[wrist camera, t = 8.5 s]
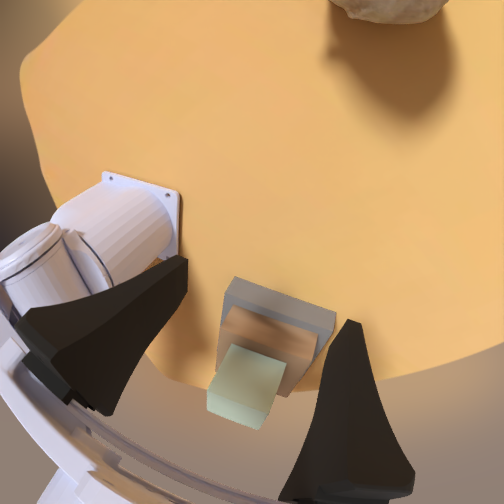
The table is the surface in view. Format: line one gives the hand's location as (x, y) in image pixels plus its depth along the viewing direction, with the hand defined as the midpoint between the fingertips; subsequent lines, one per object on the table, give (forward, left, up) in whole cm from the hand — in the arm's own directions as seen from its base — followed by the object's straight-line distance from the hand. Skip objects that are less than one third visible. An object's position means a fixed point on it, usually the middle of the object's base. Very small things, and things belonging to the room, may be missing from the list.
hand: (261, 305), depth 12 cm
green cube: (+1, -14, -5) cm, 15 cm away
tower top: (+1, -14, -8) cm, 16 cm away
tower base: (+1, -14, -11) cm, 18 cm away
